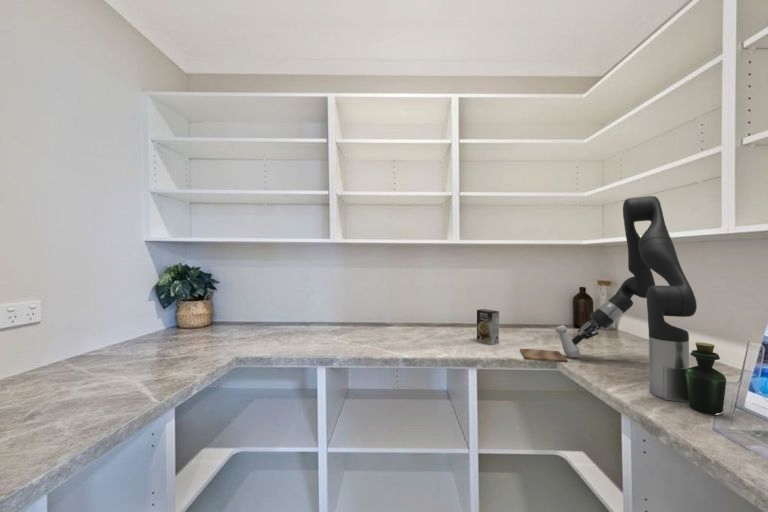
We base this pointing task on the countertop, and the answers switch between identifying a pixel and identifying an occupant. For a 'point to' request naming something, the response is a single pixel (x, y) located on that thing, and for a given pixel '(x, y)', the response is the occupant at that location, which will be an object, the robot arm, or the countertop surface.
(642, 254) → the robot arm
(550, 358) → the walnut board
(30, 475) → the countertop surface
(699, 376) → the potion bottle
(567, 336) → the salt shaker
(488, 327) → the coffee box
